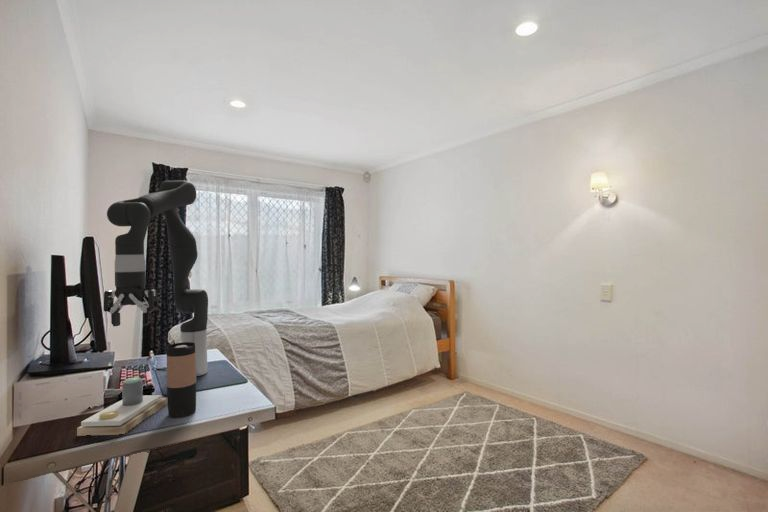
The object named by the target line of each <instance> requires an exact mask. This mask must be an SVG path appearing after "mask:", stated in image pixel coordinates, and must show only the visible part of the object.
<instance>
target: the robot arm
mask: <svg viewBox="0 0 768 512" xmlns="http://www.w3.org/2000/svg"><path fill="white" fill-rule="evenodd" d="M196 199H197V189H196V186H195V185H194V183H192V182H191V181H188V180H185V179H183V180H164V181H162V182H161V183H160V185H159V191H157V192H150V193H147V194H144V195H141V196H139V197H136V198H131V199H125V200H121V201H120V200H119V201H116V202H114V203H112V204H111V205H110V206H109V207H108V209H107V212H106V217H107V219H108V221H109V223H111V224H112V225H113V226H116V227H130V228H129V230H128V232H126V233H124V234H120V235H117V236H116V237H115V239H114V240H115V241H114V242H115V243H114V245H115V246H114V247H115V248H114V249H115V251H114V252H115V253H114V254H115V257H114V258H115V259H114V286H115V290H105V291H104V292H103V312H107V313H110V323H111V325H112V326H113V327H118V326H120V325H121V312H120V311H121V310H122V308H123V307H125V306H129V305H130V306H137V308H139V309H141V311H142V326H150V324H151V323H152V312H153V311H155V310H158V308H159V305H158V291H157V289H149V290H146V284H147V283H146V281H147V280H146V279H147V278H146V276H147V275H146V259H145V238H146V235H147V232H148V228H149V225H150V221H151V218H154V217H156V216H158V215H161V214H162V213H163V214H164V220H165V224H166V229H167V236H168V237H167V238H168V246H169V247H168V249H169V255H170V260H171V265H172V266H171V267H172V275H173V276H172V277H173V291H174V292H173V293H174V295H173V296H174V305H175V308H176V311H177V312H178V313H180V314H193V317H192V318H191V319H190V320H188V321H185V322H183V323H181V324H180V327H179V328H180V343H183V342H192V343H195V353H196V377H200V376H203V375H205V374H207V373H208V331H207V329H208V328H207V327H208V318H209V317H208V315H209V296H208V292H207V291H206V290H205V289H201V288H200V289H189V288H188V280H189V279H188V278H189V276H190V273H191V271H192V269H193V267H194V266H195V264H196V261H197V259H198V247H197V246H198V245H197V241H196V240H197V239H196V237H195V236H194V235H193V233H192V232H191V230H190V229H189V228H188V227H187V225H185V223H184V222H183V220H182V219H181V216H180V214H179V211H178V207H182V206H185V207H186V206H191V205H192V204H194V203H195V202H196ZM145 296H146V297H147V298H148V300H147V299H146V298H145ZM115 297H116V300H115V299H114V298H115Z"/></svg>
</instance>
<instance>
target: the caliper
mask: <svg viewBox="0 0 768 512" xmlns="http://www.w3.org/2000/svg"><path fill="white" fill-rule="evenodd" d="M104 390H105V397H103V398H104V399H110V398H114V396H117V395H121V394H120V393H121V392H122V388H117V389H116V388H108V389H107V388H105V389H104Z"/></svg>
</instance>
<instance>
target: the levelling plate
mask: <svg viewBox="0 0 768 512" xmlns="http://www.w3.org/2000/svg"><path fill="white" fill-rule="evenodd" d="M121 385H122V386H121V387H122V388H121V389H122V394H121V395H122V396H121V398H122V399H121V400H119V401H117V402H115V403H114V404H110V405H109V406H107V407H106V408H104V409H102V410H100V411H98V412H97V413H95V414H93V415H91V416H89V417H87V418H86V419H84V420H82V421H81V422H80V426H81V427H85V426H120V425H122V424H123V423H125V422H127V421H128V420H130V419H131V418H133V417H134V416H136V415H137V414H139V413H141V412H142V411H144V410H145V409H147V408H148V407H150V406H151V405H153V404H154V403H156V402H158V401H159V400H161V399H162V398H163V397H162V394H151V395H150V394H149V395H147V394H146V395H144V391H143V386H144V383H143V379H141V377H130V378H126V379H124V381H123V382H122V383H121Z"/></svg>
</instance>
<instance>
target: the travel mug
mask: <svg viewBox="0 0 768 512" xmlns="http://www.w3.org/2000/svg"><path fill="white" fill-rule="evenodd" d="M166 393H167V394H166V395H167V397H166V398H167V408H168V409H167V415H168V417H169V418H171V419H179V418H186V417H188V416H191V415H193V414H195V413H196V409H197V376H196V353H195V343H192V342H183V343H181V342H177V343H172V344H168V345H167V346H166ZM185 416H186V417H185Z"/></svg>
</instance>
